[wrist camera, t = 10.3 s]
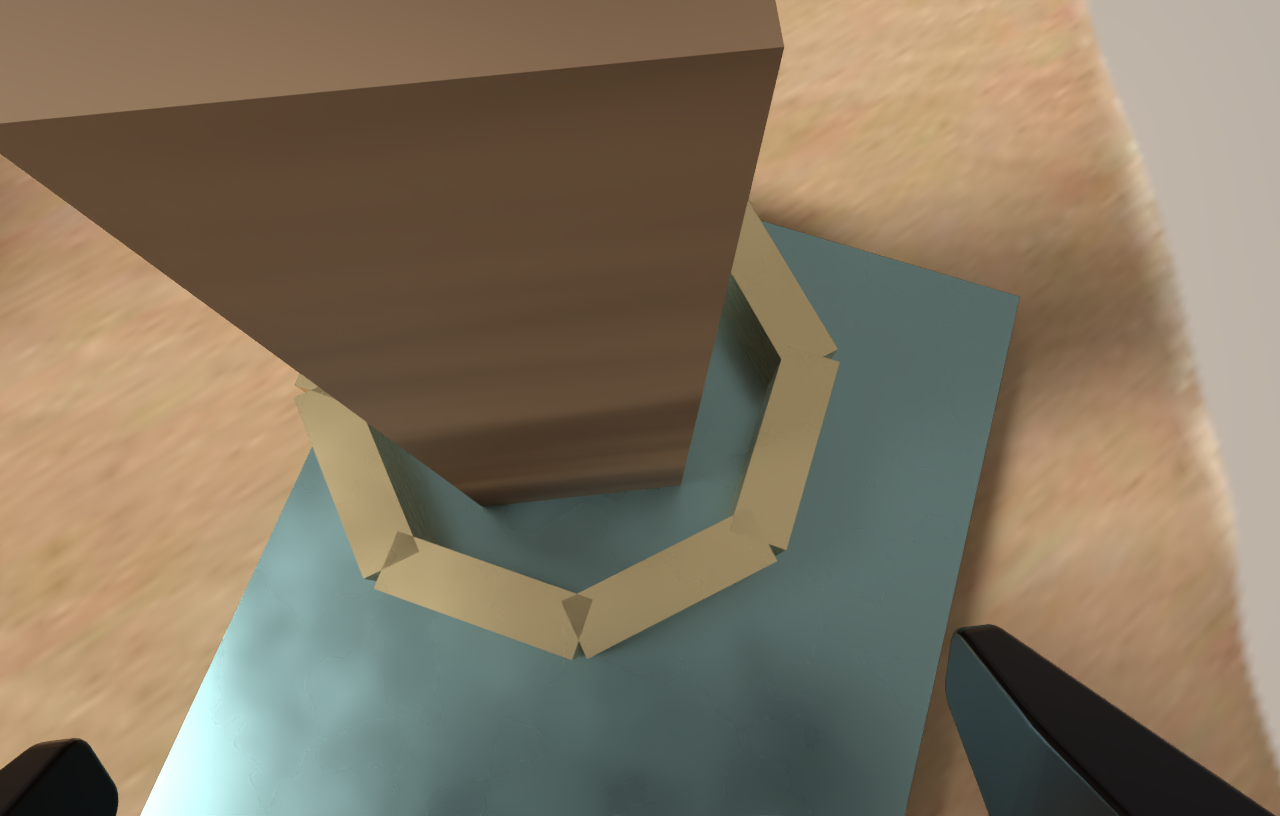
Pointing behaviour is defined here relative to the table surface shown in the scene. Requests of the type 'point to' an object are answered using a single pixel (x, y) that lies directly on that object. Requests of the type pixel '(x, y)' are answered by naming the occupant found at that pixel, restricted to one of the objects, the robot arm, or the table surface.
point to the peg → (428, 202)
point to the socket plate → (669, 694)
